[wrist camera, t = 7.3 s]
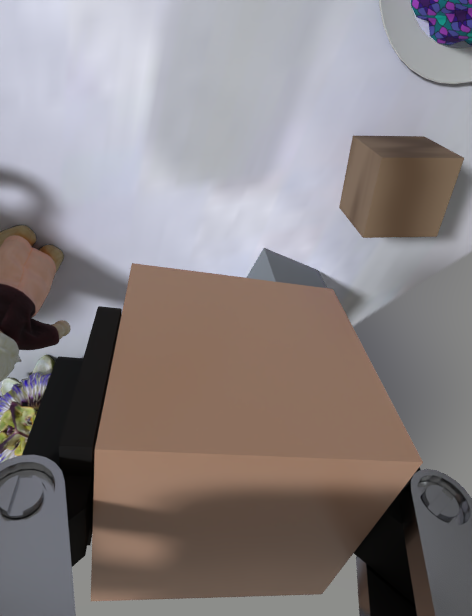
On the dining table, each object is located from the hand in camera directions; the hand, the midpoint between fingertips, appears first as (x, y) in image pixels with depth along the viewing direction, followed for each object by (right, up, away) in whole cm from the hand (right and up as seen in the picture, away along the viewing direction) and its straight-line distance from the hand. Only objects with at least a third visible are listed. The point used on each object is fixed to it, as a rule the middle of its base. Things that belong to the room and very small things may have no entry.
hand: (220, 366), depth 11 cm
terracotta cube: (0, 0, 0) cm, 1 cm away
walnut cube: (+11, +11, +18) cm, 24 cm away
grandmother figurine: (-14, +5, +19) cm, 24 cm away
